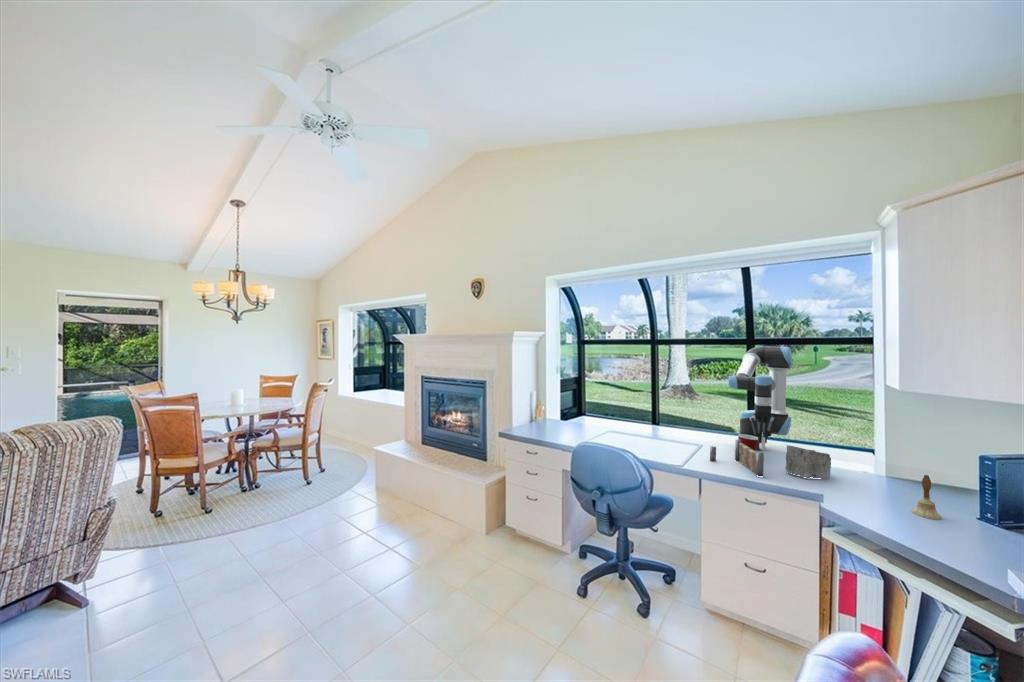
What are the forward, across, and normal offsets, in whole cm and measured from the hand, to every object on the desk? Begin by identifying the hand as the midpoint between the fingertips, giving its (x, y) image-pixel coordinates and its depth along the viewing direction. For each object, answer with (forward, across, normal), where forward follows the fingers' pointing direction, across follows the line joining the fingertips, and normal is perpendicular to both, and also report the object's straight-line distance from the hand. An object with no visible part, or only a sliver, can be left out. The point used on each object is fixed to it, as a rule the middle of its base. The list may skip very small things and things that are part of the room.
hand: (762, 449), depth 204 cm
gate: (+11, -6, +2) cm, 12 cm away
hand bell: (+12, +40, -45) cm, 61 cm away
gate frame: (+11, -13, +2) cm, 17 cm away
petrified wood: (+12, +20, -4) cm, 24 cm away
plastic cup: (+11, +4, +24) cm, 27 cm away
